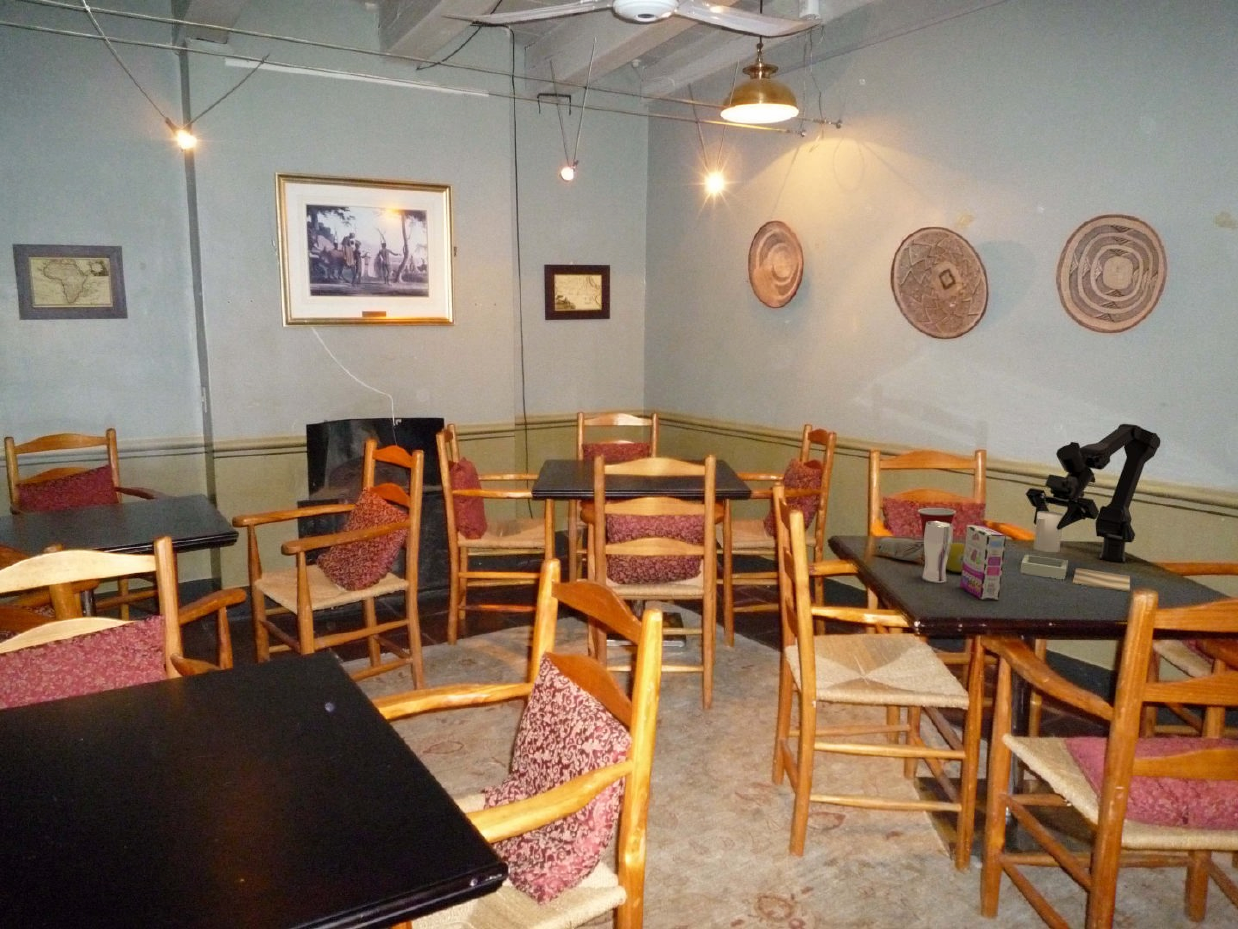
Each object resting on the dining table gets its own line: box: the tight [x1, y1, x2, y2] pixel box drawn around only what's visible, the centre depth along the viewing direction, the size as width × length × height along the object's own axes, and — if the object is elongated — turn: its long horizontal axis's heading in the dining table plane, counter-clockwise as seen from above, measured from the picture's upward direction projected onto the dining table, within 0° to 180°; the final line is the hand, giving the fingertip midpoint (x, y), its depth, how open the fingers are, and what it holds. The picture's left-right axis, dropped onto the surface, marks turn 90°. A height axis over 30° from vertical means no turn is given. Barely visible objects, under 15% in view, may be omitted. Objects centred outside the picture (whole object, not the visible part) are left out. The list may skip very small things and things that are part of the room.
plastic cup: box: [917, 507, 957, 540], centre depth 260 cm, size 11×11×12 cm
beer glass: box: [921, 521, 954, 584], centre depth 226 cm, size 7×7×15 cm
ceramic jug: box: [1033, 510, 1064, 553], centre depth 236 cm, size 8×6×10 cm
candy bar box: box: [960, 524, 1007, 601], centre depth 215 cm, size 11×5×16 cm, turn 5°
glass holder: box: [1020, 554, 1069, 581], centre depth 238 cm, size 11×11×3 cm
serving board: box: [1072, 567, 1131, 593], centre depth 232 cm, size 16×13×1 cm
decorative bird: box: [876, 536, 925, 568], centre depth 245 cm, size 5×16×8 cm, turn 48°
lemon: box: [946, 542, 965, 573], centre depth 235 cm, size 11×8×8 cm
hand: (1046, 526), depth 236 cm, fingers closed on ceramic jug, 6 cm apart
